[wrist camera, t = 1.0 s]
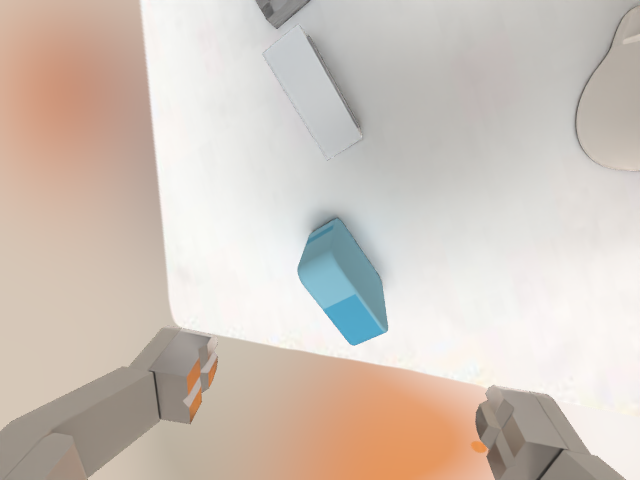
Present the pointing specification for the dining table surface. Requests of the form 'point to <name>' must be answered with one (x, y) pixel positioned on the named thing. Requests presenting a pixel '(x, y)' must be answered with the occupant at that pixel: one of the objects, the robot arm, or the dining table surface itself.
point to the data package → (343, 283)
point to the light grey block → (313, 92)
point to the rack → (280, 10)
